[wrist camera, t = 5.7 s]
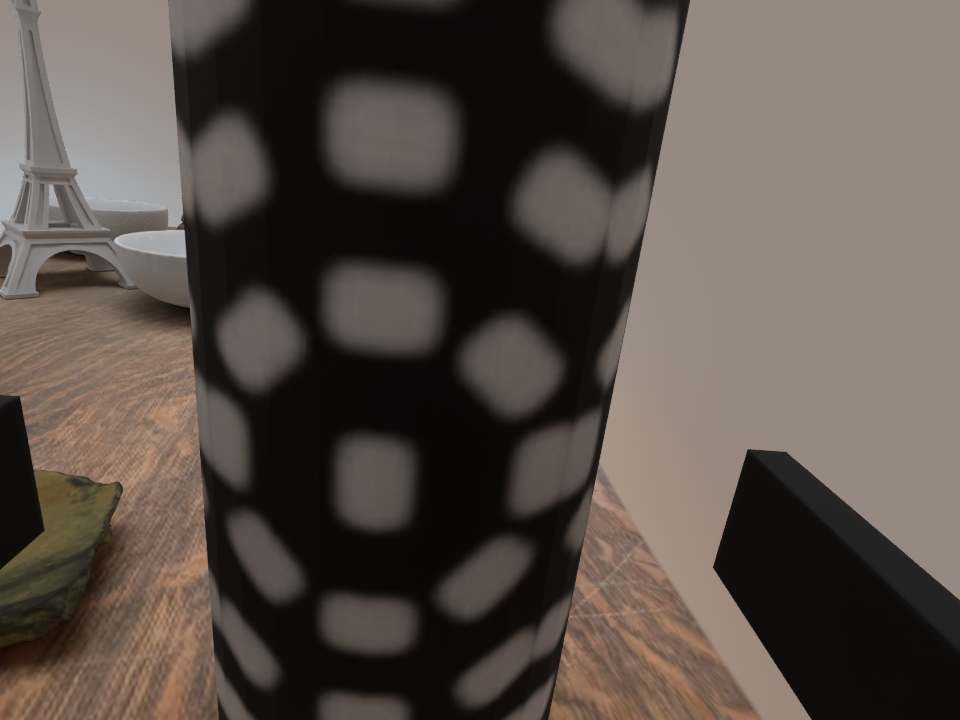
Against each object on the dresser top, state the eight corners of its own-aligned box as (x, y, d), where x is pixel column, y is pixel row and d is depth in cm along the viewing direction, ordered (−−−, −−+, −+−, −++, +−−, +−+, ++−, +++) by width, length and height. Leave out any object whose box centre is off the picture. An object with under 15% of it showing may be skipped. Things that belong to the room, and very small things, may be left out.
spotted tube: (543, 990, 12) (830, -168, 5) (156, 959, 12) (-30, -276, 5) (521, 663, 20) (626, 35, 13) (290, 642, 20) (282, -4, 13)
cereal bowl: (170, 264, 76) (166, 212, 74) (18, 262, 68) (8, 203, 66) (171, 244, 90) (167, 200, 88) (45, 241, 82) (37, 192, 80)
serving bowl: (357, 297, 69) (358, 242, 67) (277, 344, 49) (275, 268, 47) (202, 276, 71) (199, 222, 69) (66, 313, 51) (55, 239, 49)
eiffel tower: (152, 287, 64) (124, -12, 54) (5, 299, 53) (-62, -66, 44) (109, 266, 71) (77, 1, 61) (-27, 273, 61) (-90, -42, 51)
